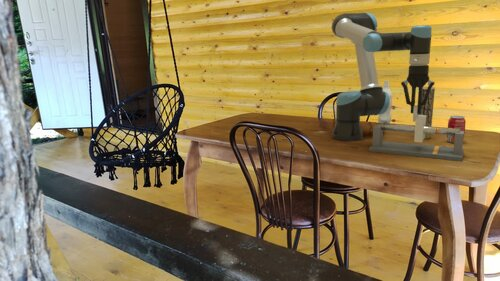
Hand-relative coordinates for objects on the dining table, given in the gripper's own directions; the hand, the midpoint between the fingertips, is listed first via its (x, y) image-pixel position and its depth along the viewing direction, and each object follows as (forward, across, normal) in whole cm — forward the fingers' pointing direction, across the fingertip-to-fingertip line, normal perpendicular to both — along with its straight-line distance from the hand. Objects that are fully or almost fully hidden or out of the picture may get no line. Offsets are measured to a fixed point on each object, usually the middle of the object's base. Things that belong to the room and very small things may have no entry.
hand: (415, 121), depth 154 cm
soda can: (+14, +15, +24) cm, 32 cm away
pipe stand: (+14, +1, 0) cm, 14 cm away
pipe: (+5, +1, 0) cm, 5 cm away
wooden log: (+14, +1, +27) cm, 31 cm away
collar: (+8, +2, 0) cm, 8 cm away
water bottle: (+13, -24, +54) cm, 61 cm away
